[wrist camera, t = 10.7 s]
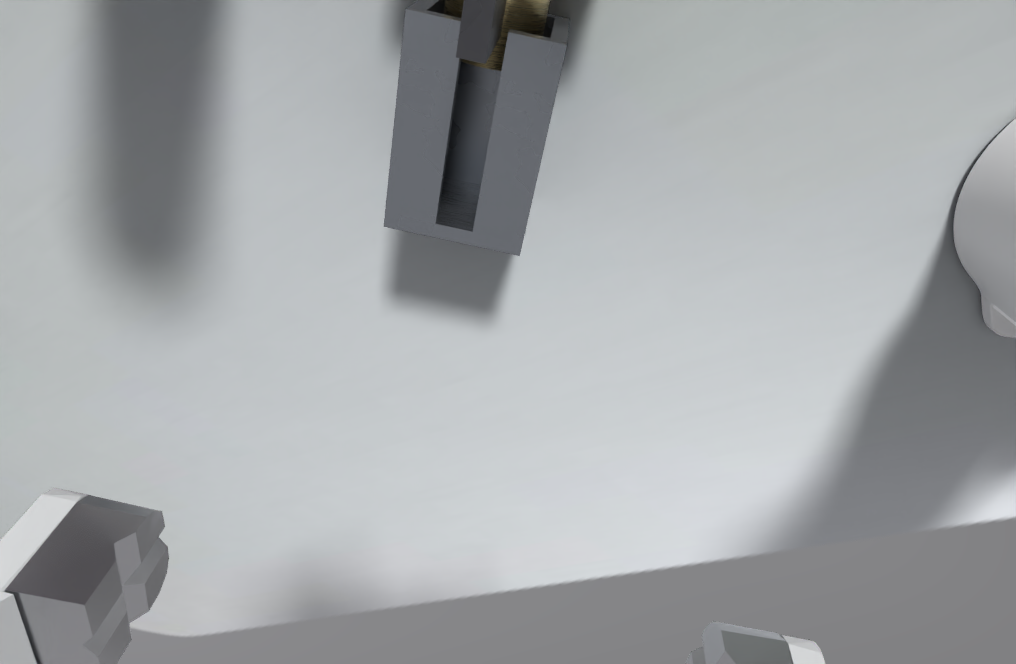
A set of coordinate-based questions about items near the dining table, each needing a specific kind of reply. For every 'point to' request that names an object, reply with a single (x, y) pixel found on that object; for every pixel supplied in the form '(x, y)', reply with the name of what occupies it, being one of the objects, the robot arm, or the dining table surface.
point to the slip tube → (493, 27)
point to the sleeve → (470, 131)
